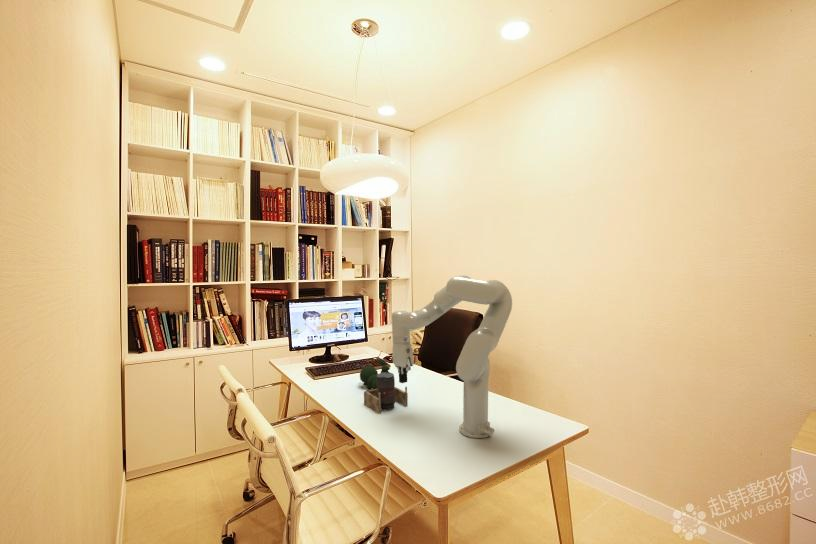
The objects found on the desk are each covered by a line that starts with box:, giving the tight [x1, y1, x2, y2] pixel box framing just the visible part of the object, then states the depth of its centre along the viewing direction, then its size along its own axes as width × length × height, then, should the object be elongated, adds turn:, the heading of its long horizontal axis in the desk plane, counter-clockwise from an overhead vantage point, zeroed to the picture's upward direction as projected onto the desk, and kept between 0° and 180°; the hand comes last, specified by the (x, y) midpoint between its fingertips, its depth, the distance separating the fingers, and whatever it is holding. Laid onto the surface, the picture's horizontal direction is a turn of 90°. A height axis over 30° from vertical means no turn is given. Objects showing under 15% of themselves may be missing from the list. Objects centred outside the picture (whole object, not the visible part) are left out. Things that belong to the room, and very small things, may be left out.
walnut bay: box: [363, 386, 409, 415], centre depth 172 cm, size 13×15×9 cm
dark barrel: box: [377, 371, 396, 411], centre depth 169 cm, size 8×8×15 cm
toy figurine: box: [359, 358, 391, 391], centre depth 193 cm, size 9×19×25 cm
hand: (403, 382), depth 161 cm, fingers closed
